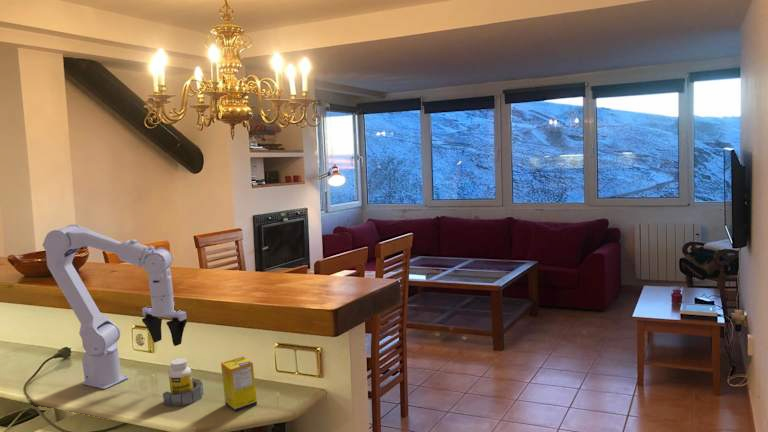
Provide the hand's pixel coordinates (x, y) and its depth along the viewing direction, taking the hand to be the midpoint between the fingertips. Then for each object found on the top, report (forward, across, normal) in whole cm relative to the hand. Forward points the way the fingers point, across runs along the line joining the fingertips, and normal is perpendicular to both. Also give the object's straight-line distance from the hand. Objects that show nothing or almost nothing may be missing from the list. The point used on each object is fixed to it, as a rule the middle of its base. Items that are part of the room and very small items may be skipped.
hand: (167, 342), depth 170 cm
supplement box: (+11, -29, +5) cm, 31 cm away
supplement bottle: (+11, -12, +8) cm, 18 cm away
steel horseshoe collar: (+10, -14, +7) cm, 19 cm away
